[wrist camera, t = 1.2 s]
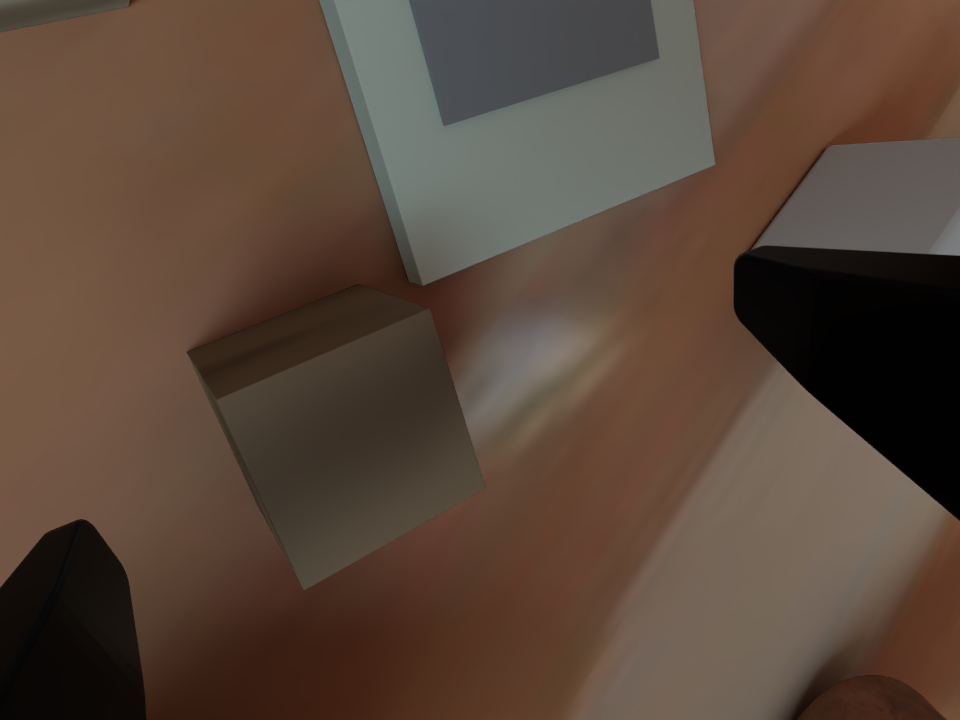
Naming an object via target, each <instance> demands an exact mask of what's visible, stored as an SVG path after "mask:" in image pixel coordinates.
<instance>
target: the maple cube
mask: <svg viewBox="0 0 960 720" xmlns="http://www.w3.org/2000/svg"><path fill="white" fill-rule="evenodd" d="M129 2H130V0H0V32H5V31H10V30H15V29H20V28H25V27H30V26H35V25H40V24H45V23H50V22H55V21H61V20H66V19H71V18H76V17H81V16H86V15H91V14H96V13H101V12H106V11H111V10H116V9H121V8H126V7H129Z"/></svg>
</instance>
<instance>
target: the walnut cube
mask: <svg viewBox="0 0 960 720" xmlns="http://www.w3.org/2000/svg"><path fill="white" fill-rule="evenodd" d="M187 354H188V356H189V358H190V360H191V362H192V364H193V367H194V369H195V371H196V373H197V375H198V377H199V380H200V382H201V384H202V386H203V388H204V390H205V392H206V395H207V397H208V399H209V401H210V403H211V405H212V408H213V410H214V412H215V414H216V416H217V418H218V420H219V423H220V425H221V427H222V429H223V431H224V433H225V436H226V438H227V440H228V442H229V444H230V446H231V449H232V451H233V453H234V455H235V457H236V459H237V461H238V464H239V466H240V468H241V470H242V472H243V474H244V477H245V479H246V481H247V483H248V485H249V487H250V489H251V492H252V494H253V496H254V498H255V500H256V502H257V505H258V507H259V509H260V510H261V512H262V514H263V516H264V518H265V520H266V522H267V523H268V525H269V527H270V529H271V531H272V533H273V534H274V536H275V538H276V540H277V542H278V544H279V546H280V547H281V549H282V551H283V553H284V555H285V557H286V558H287V560H288V562H289V564H290V566H291V568H292V570H293V571H294V573H295V575H296V577H297V579H298V581H299V582H300V584H301V586H302V588H303V590H306V589H308V588H310V587H311V586H313V585H315V584H317V583H318V582H320V581H322V580H324V579H326V578H327V577H329V576H331V575H333V574H334V573H336V572H338V571H340V570H341V569H343V568H345V567H347V566H349V565H350V564H352V563H354V562H356V561H357V560H359V559H361V558H363V557H365V556H366V555H368V554H370V553H372V552H373V551H375V550H377V549H379V548H380V547H382V546H384V545H386V544H388V543H389V542H391V541H393V540H395V539H396V538H398V537H400V536H402V535H403V534H405V533H407V532H409V531H411V530H412V529H414V528H416V527H418V526H419V525H421V524H423V523H425V522H427V521H428V520H430V519H432V518H434V517H435V516H437V515H439V514H441V513H442V512H444V511H446V510H448V509H450V508H451V507H453V506H455V505H457V504H458V503H460V502H462V501H464V500H466V499H467V498H469V497H471V496H473V495H474V494H476V493H478V492H480V491H481V490H483V489H485V488H486V487H485V484H484V480H483V477H482V474H481V471H480V468H479V464H478V461H477V458H476V455H475V452H474V448H473V445H472V442H471V439H470V435H469V432H468V429H467V426H466V423H465V419H464V416H463V413H462V410H461V407H460V403H459V400H458V397H457V394H456V390H455V387H454V384H453V381H452V378H451V374H450V371H449V368H448V365H447V361H446V358H445V355H444V352H443V349H442V345H441V342H440V339H439V336H438V333H437V329H436V326H435V323H434V320H433V316H432V313H431V310H430V308H428V307H425V306H422V305H419V304H416V303H413V302H410V301H407V300H404V299H401V298H398V297H395V296H392V295H389V294H386V293H383V292H380V291H377V290H374V289H371V288H368V287H365V286H362V285H359V284H357V285H355V286H352V287H350V288H347V289H345V290H342V291H340V292H337V293H335V294H332V295H330V296H327V297H325V298H322V299H319V300H317V301H314V302H312V303H309V304H307V305H304V306H302V307H299V308H297V309H294V310H292V311H289V312H287V313H284V314H281V315H279V316H276V317H274V318H271V319H269V320H266V321H264V322H261V323H259V324H256V325H254V326H251V327H249V328H246V329H244V330H241V331H238V332H236V333H233V334H231V335H228V336H226V337H223V338H221V339H218V340H216V341H213V342H211V343H208V344H206V345H203V346H200V347H198V348H195V349H193V350H190V351H188V352H187Z"/></svg>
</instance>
